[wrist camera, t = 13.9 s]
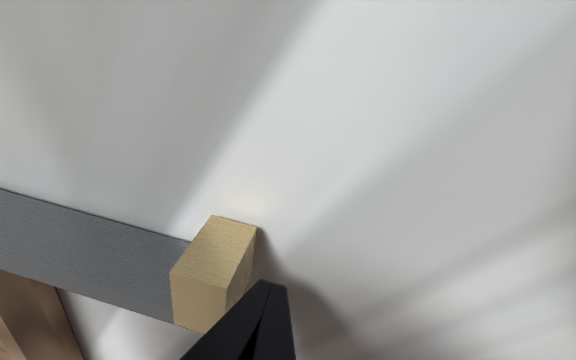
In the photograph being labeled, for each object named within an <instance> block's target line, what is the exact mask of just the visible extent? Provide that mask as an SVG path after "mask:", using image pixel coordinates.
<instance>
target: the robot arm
mask: <svg viewBox="0 0 576 360" xmlns="http://www.w3.org/2000/svg"><path fill="white" fill-rule="evenodd" d="M180 360H296V356H295V348H294V340H293V332H292V323H291V315H290V307H289V299H288V291H287V287H286V285H283V284H280V283H276V282H275V283H273V282H272V281H269V280H266V279H260V280H259V281H257V282H256V283H255V284H254V285H253V286H252V287H251V288H250V289H249V290H248V291H247V292H246V293H245V294H244V295H243V296H242V297H241V298H240V299H239V300H238V301H237V302H236V303H235V304H234V305H233V306H232V307H231V308H230V309H229V310H228V311H227V312H226V313H225V314H224V315H223V316H222V317H221V318H220V319H219V320H218V321H217V322H216V323H215V325H214V326H213V327H212V328H211V329H210V330H209V331H208V332H207V333H206V334H205V335H204V336H203V337H202V338H201V339H200V340H199V341H198V342H197V343H196V344H195V345H194V346H193V347H192V348H191V349H190V350H189V351H188V352H187V353H186V354H185V355H184V356H183V357H182V358H181V359H180Z"/></svg>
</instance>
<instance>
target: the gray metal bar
mask: <svg viewBox="0 0 576 360" xmlns="http://www.w3.org/2000/svg"><path fill="white" fill-rule="evenodd" d="M256 232H257V227H255V226H251V225H247V224H244V223H240V222H236V221H233V220H229V219H225V218H221V217H218V216H214V215H211V217H210V218H209V219H208V221H207V222H206V223H205V225H204V226H203V227H202V229H201V230H200V231H199V233H198V234H197V235H196V237H195V238H194V239H193V241H192V242H191V243H188V242H184V241H181V240H177V239H174V238H170V237H167V236H163V235H160V234H156V233H153V232H149V231H145V230H142V229H138V228H135V227H131V226H128V225H124V224H121V223H117V222H114V221H110V220H107V219H103V218H99V217H96V216H92V215H89V214H85V213H82V212H78V211H75V210H71V209H68V208H64V207H60V206H57V205H53V204H50V203H46V202H43V201H39V200H36V199H32V198H29V197H25V196H22V195H18V194H14V193H11V192H7V191H4V190H0V269H1V270H4V271H8V272H11V273H14V274H17V275H20V276H23V277H26V278H30V279H33V280H36V281H39V282H42V283H45V284H49V285H52V286H55V287H58V288H61V289H64V290H67V291H71V292H74V293H77V294H80V295H83V296H86V297H89V298H93V299H96V300H99V301H102V302H105V303H108V304H112V305H115V306H118V307H121V308H124V309H127V310H130V311H134V312H137V313H140V314H143V315H146V316H149V317H152V318H156V319H159V320H162V321H165V322H168V323H171V324H175V325H178V326H181V327H184V328H187V329H190V330H193V331H197V332H200V333H203V334H206V333H207V332H208V331H209V330H210V329H211V328H212V327H213V326H214V325H215V323H216V322H217V321H218V320H219V319H220V318H221V317H222V316H223V315H224V314H225V313H226V312H227V311H228V310H229V309H230V308H231V307H232V306H233V305H234V304H235V303H236V302H237V301H238V300H239V299H240V298H241V297H242V295H243V293H244V291H245V288H246V286H247V284H248V281H249V279H250V277H251V273H252V265H253V257H254V248H255V240H256Z"/></svg>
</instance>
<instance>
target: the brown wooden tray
mask: <svg viewBox="0 0 576 360" xmlns="http://www.w3.org/2000/svg"><path fill="white" fill-rule="evenodd" d="M0 360H84V358H83V356H82V354H81V351H80V349H79V346H78V344H77V341H76V339H75V336H74V334H73V332H72V329H71V327H70V324H69V322H68V319H67V317H66V314H65V312H64V310H63V307H62V305H61V302H60V300H59V297H58V295H57V292H56V290H55V288H54V286H52V285H49V284H45V283H42V282H39V281H36V280H33V279H30V278H26V277H23V276H20V275H17V274H14V273H11V272H8V271H4V270H1V269H0Z"/></svg>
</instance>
